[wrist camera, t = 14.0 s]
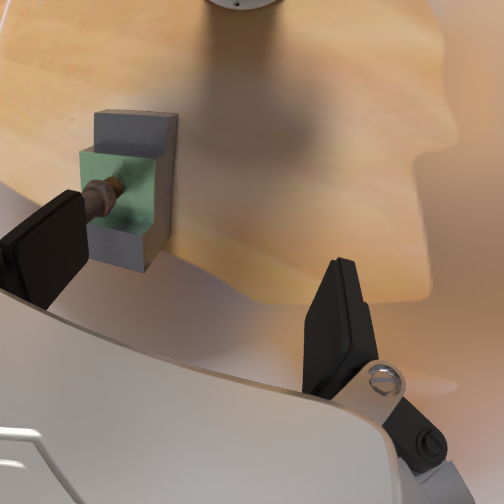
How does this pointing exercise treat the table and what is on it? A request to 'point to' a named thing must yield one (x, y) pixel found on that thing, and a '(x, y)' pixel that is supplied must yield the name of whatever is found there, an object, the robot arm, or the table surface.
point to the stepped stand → (132, 185)
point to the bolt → (101, 197)
